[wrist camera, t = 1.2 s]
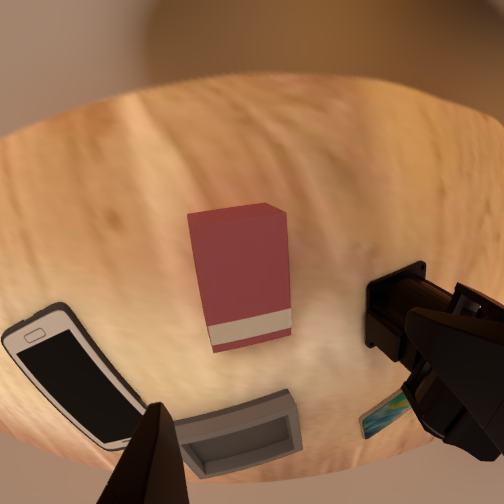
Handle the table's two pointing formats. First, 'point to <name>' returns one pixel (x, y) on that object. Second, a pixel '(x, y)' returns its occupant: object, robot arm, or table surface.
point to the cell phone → (75, 375)
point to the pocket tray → (240, 435)
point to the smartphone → (383, 414)
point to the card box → (242, 274)
